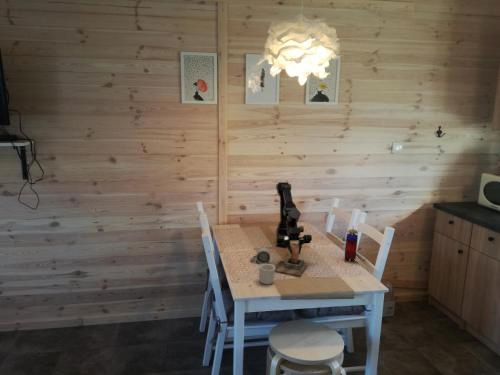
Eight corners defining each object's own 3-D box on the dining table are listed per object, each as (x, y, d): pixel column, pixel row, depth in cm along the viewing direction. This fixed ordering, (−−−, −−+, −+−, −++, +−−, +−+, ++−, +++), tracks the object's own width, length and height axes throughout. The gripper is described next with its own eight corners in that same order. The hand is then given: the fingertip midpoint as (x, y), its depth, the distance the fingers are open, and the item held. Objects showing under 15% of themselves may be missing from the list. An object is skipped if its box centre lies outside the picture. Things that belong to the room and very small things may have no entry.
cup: (256, 276, 200) (257, 261, 199) (272, 276, 201) (273, 261, 199) (259, 285, 190) (259, 270, 188) (275, 285, 191) (276, 270, 189)
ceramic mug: (269, 258, 223) (270, 245, 222) (270, 264, 215) (270, 251, 213) (250, 258, 223) (251, 245, 222) (250, 264, 215) (250, 250, 214)
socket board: (272, 271, 206) (272, 265, 206) (280, 262, 219) (280, 256, 218) (300, 277, 201) (300, 270, 200) (307, 267, 213) (307, 260, 213)
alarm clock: (355, 264, 219) (358, 229, 215) (339, 262, 221) (342, 228, 217) (356, 255, 233) (359, 222, 228) (341, 253, 235) (344, 220, 231)
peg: (288, 264, 211) (290, 244, 209) (293, 262, 214) (294, 243, 211) (294, 266, 208) (296, 247, 206) (299, 264, 211) (300, 245, 209)
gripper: (277, 220, 209) (280, 247, 201) (312, 220, 211) (316, 247, 203) (274, 229, 218) (277, 256, 210) (307, 229, 220) (311, 256, 212)
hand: (295, 254), depth 208 cm, fingers closed on peg, 4 cm apart
